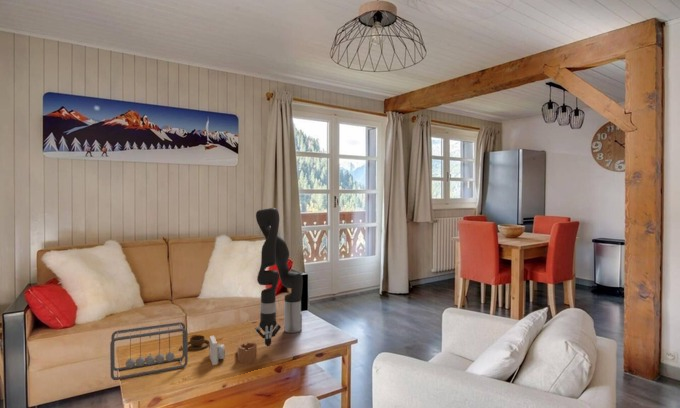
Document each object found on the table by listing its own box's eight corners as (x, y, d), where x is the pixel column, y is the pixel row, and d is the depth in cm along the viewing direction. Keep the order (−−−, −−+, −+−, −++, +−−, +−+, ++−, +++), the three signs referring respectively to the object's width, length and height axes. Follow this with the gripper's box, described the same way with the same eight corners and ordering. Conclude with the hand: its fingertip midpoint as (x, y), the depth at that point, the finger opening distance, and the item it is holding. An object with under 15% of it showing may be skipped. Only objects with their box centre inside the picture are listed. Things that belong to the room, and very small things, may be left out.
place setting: (215, 341, 210) (215, 330, 210) (215, 356, 191) (215, 344, 191) (180, 344, 205) (180, 333, 205) (176, 360, 186) (176, 348, 186)
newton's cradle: (185, 358, 187) (184, 321, 186) (187, 367, 178) (187, 328, 177) (111, 371, 173) (111, 331, 173) (110, 381, 164) (110, 339, 163)
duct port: (222, 354, 192) (222, 334, 191) (225, 363, 183) (225, 341, 182) (209, 356, 189) (209, 336, 189) (212, 365, 180) (212, 343, 180)
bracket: (257, 362, 184) (257, 348, 184) (238, 364, 181) (238, 349, 181) (253, 347, 201) (253, 334, 201) (237, 349, 199) (237, 335, 198)
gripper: (278, 307, 202) (278, 340, 202) (253, 310, 196) (252, 344, 196) (283, 311, 195) (283, 346, 195) (256, 314, 189) (256, 350, 190)
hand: (267, 345), depth 196 cm, fingers closed
